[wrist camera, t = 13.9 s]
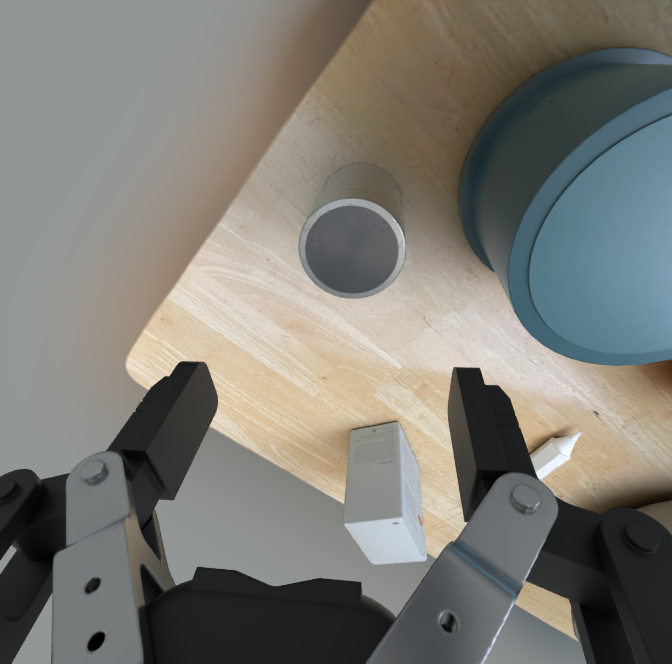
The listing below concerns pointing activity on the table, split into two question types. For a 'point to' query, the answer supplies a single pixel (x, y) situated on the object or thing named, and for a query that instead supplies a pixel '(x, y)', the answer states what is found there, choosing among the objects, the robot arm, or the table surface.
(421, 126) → the table surface
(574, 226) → the blue flanged cylinder
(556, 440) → the white pencil
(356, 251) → the cup
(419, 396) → the table surface
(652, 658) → the robot arm
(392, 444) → the small box
